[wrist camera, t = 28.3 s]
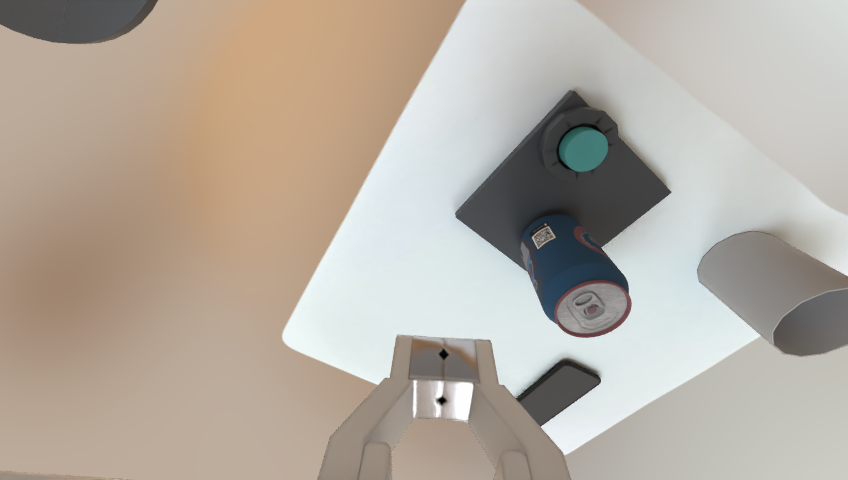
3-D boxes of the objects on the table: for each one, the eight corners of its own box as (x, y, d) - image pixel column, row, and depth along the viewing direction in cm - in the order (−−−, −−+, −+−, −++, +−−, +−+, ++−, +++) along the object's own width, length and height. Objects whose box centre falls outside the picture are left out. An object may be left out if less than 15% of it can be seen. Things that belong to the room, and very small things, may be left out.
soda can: (593, 240, 36) (655, 316, 26) (538, 273, 39) (575, 355, 28) (560, 196, 34) (614, 259, 23) (504, 234, 36) (530, 307, 26)
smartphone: (501, 414, 53) (565, 362, 46) (500, 409, 53) (563, 357, 46) (538, 429, 54) (605, 381, 47) (536, 424, 55) (602, 375, 48)
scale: (455, 212, 36) (456, 224, 34) (572, 87, 30) (584, 90, 27) (546, 282, 41) (553, 298, 38) (667, 186, 34) (686, 197, 31)
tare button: (550, 149, 30) (556, 154, 28) (582, 117, 29) (590, 121, 27) (575, 173, 31) (582, 179, 29) (608, 143, 30) (617, 148, 28)
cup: (767, 217, 35) (874, 270, 26) (788, 266, 38) (892, 328, 29) (686, 259, 38) (758, 320, 29) (711, 302, 41) (784, 368, 32)
